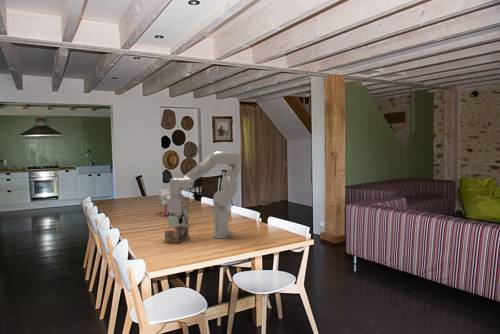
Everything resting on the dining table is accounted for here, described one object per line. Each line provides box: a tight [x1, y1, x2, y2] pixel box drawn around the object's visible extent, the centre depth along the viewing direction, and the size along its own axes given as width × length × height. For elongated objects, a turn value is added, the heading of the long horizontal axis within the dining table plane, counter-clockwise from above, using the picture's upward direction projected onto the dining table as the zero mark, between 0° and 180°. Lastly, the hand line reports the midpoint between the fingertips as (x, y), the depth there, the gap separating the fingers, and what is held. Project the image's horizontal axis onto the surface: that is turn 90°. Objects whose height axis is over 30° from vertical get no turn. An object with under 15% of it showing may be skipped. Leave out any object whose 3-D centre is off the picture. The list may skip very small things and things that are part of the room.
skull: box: [157, 188, 170, 217], centre depth 333 cm, size 25×19×23 cm
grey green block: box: [167, 214, 184, 228], centre depth 244 cm, size 6×10×6 cm, turn 157°
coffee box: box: [174, 205, 190, 228], centre depth 286 cm, size 9×6×16 cm
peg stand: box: [163, 226, 191, 245], centre depth 245 cm, size 11×16×8 cm
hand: (176, 222), depth 245 cm, fingers closed on grey green block, 6 cm apart
